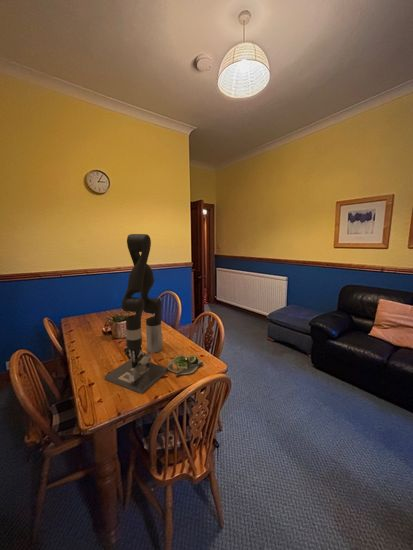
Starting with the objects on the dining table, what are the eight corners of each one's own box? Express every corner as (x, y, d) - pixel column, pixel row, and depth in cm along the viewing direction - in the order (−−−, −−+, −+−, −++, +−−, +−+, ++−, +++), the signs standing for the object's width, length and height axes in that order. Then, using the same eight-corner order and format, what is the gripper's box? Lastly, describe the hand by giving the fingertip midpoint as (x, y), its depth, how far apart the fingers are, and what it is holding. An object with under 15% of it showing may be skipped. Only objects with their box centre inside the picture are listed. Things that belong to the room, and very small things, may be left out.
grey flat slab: (133, 360, 132) (133, 353, 132) (168, 371, 122) (167, 364, 121) (104, 379, 115) (104, 371, 114) (141, 394, 104) (141, 385, 103)
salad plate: (190, 382, 114) (190, 373, 113) (159, 373, 120) (159, 365, 120) (205, 363, 131) (205, 355, 130) (178, 356, 138) (178, 349, 137)
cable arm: (145, 358, 127) (145, 352, 126) (151, 358, 126) (151, 353, 126) (128, 381, 106) (127, 375, 106) (135, 381, 106) (135, 375, 105)
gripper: (149, 336, 115) (149, 367, 118) (129, 330, 121) (130, 360, 124) (138, 342, 109) (139, 375, 112) (118, 335, 115) (119, 367, 118)
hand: (134, 367), depth 118 cm, fingers closed
